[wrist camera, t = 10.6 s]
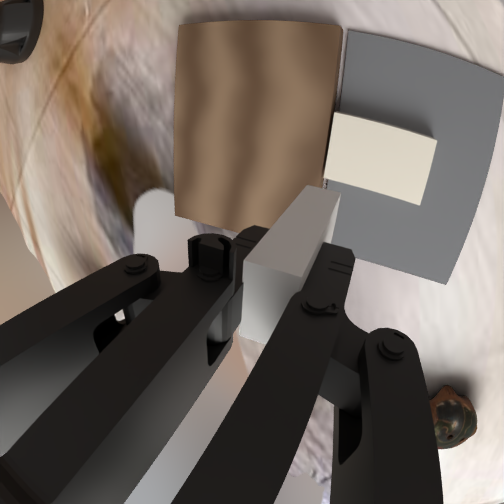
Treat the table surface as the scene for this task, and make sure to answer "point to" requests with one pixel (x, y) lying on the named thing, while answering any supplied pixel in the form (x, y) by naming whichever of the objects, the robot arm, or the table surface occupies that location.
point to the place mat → (444, 160)
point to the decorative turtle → (452, 418)
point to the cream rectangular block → (379, 157)
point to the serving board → (251, 117)
